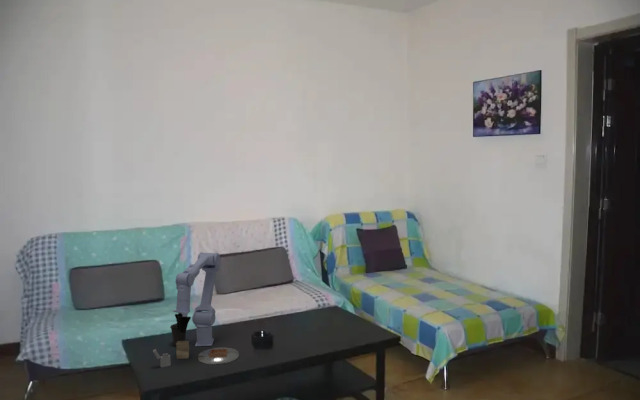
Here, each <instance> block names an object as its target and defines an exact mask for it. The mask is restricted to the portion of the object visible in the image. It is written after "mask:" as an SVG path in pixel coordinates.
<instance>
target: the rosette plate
mask: <svg viewBox="0 0 640 400" xmlns="http://www.w3.org/2000/svg"><path fill="white" fill-rule="evenodd" d="M239 356H240V352H239V350H237V349H235V348H231V347H213V348H209V349H208V348H207V349H206V350H203V351H201V352H200V353H198V356H197V359H198V362H199V363H202V364H206V365H214V366H215V365H226V364H229V363H231V362H234V361H237V359H238V358H239Z"/></svg>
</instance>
